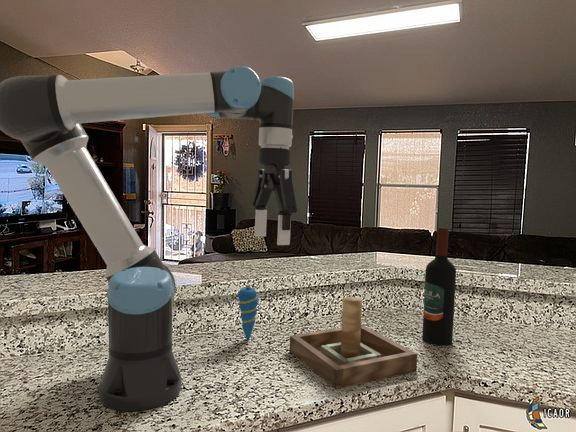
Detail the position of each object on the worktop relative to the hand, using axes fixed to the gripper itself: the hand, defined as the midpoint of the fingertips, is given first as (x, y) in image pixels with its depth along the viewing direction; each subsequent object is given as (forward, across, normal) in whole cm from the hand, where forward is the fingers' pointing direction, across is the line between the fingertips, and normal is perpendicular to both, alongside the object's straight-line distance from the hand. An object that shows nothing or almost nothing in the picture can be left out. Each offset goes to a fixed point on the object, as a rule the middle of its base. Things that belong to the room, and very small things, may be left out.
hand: (271, 240), depth 104 cm
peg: (+26, -10, -17) cm, 33 cm away
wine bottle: (+27, -8, -46) cm, 54 cm away
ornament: (+28, +11, 0) cm, 30 cm away
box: (+27, -10, -17) cm, 34 cm away
